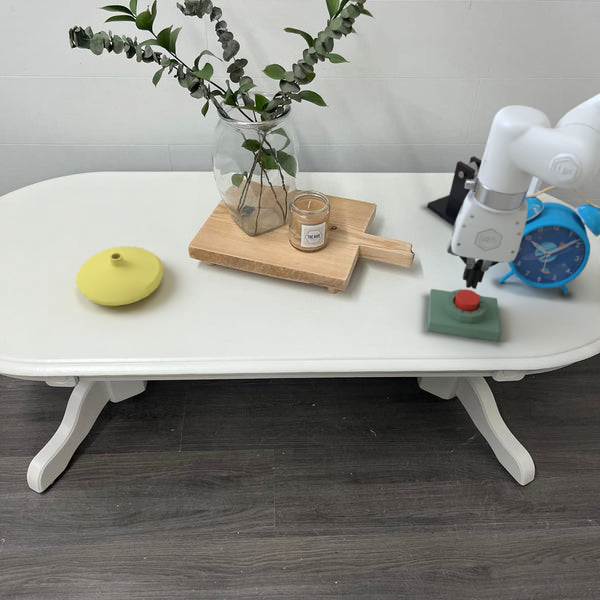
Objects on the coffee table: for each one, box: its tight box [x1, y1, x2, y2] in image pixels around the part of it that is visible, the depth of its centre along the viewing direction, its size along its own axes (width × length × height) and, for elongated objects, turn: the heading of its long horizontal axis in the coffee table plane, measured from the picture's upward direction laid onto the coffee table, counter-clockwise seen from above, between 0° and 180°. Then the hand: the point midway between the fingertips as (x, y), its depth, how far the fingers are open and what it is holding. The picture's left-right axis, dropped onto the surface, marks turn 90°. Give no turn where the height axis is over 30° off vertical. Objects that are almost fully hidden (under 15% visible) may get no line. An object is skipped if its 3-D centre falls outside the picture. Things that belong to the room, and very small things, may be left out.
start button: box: [455, 289, 480, 312], centre depth 101 cm, size 4×4×2 cm
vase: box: [75, 245, 164, 307], centre depth 106 cm, size 16×16×7 cm
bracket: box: [426, 155, 482, 227], centre depth 124 cm, size 12×9×13 cm
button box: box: [427, 288, 501, 342], centre depth 102 cm, size 12×9×4 cm
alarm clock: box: [498, 185, 600, 295], centre depth 105 cm, size 17×10×20 cm, turn 76°
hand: (470, 282), depth 98 cm, fingers closed
